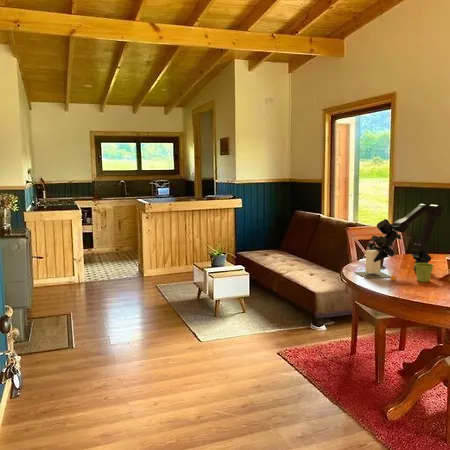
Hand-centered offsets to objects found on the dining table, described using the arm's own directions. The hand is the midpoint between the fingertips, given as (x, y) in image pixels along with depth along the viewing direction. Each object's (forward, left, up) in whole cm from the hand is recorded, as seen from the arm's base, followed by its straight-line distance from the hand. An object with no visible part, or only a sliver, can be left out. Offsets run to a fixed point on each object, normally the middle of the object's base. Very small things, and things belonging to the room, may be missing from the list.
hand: (370, 260), depth 249 cm
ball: (-6, +14, -8) cm, 17 cm away
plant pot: (-21, +17, -9) cm, 28 cm away
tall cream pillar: (-1, 0, -7) cm, 7 cm away
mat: (-1, 0, -8) cm, 8 cm away
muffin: (-14, -24, -9) cm, 29 cm away
